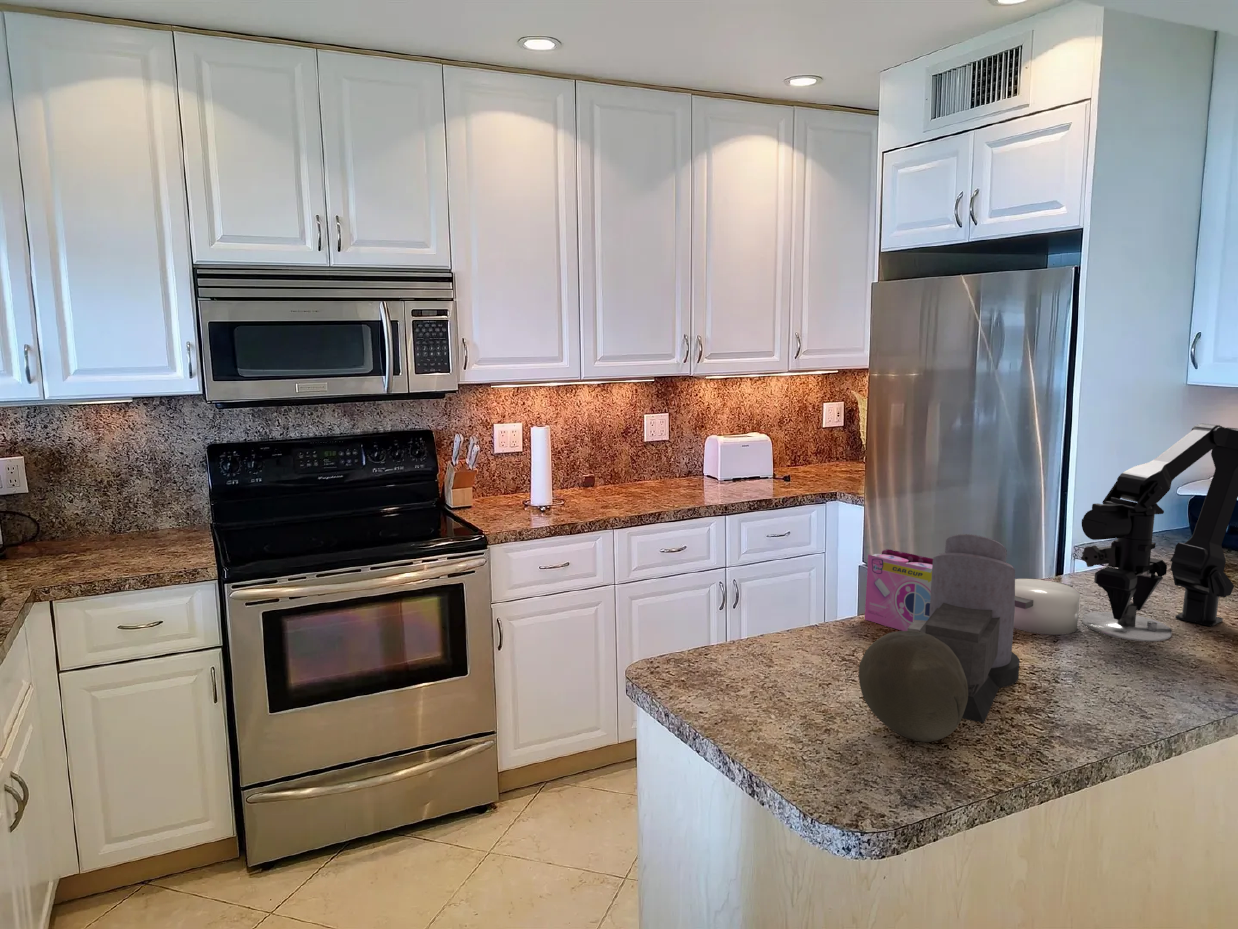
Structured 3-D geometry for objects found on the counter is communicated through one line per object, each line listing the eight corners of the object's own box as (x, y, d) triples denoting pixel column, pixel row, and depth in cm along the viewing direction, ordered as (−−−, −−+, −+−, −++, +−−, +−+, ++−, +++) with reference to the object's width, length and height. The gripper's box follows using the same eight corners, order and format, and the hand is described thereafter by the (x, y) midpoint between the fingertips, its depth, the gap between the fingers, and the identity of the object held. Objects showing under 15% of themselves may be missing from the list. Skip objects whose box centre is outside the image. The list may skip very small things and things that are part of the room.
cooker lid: (1101, 612, 176) (1104, 588, 176) (1183, 632, 165) (1186, 606, 164) (1068, 627, 167) (1070, 601, 167) (1152, 649, 156) (1155, 621, 155)
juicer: (929, 644, 156) (937, 514, 153) (1024, 662, 148) (1035, 525, 144) (887, 702, 131) (896, 548, 128) (999, 727, 123) (1012, 563, 119)
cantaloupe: (938, 714, 127) (944, 618, 124) (981, 761, 113) (989, 653, 110) (845, 715, 126) (849, 618, 124) (876, 762, 112) (882, 653, 110)
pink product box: (857, 618, 171) (860, 553, 169) (878, 610, 176) (882, 547, 174) (971, 652, 153) (977, 579, 151) (992, 642, 158) (997, 571, 156)
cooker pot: (1026, 604, 180) (1029, 572, 179) (1095, 622, 169) (1099, 588, 168) (978, 623, 168) (980, 588, 167) (1049, 643, 157) (1052, 606, 156)
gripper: (1111, 523, 175) (1104, 596, 178) (1069, 535, 164) (1062, 613, 166) (1171, 533, 167) (1163, 609, 169) (1132, 546, 155) (1124, 628, 158)
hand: (1127, 614), depth 166 cm, fingers open, 9 cm apart
